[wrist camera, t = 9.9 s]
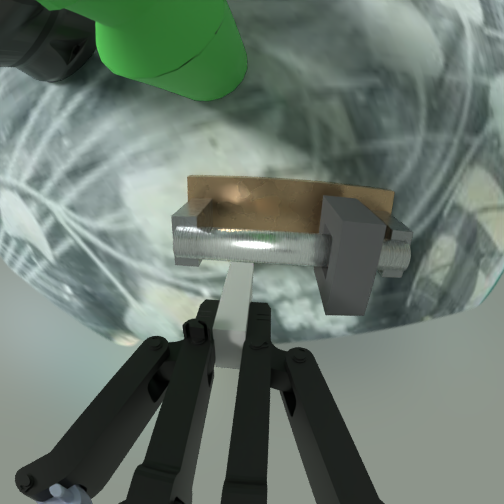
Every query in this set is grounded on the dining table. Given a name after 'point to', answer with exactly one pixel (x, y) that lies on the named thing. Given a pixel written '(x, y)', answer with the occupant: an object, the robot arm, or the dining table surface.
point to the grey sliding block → (349, 255)
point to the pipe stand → (275, 222)
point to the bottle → (167, 43)
